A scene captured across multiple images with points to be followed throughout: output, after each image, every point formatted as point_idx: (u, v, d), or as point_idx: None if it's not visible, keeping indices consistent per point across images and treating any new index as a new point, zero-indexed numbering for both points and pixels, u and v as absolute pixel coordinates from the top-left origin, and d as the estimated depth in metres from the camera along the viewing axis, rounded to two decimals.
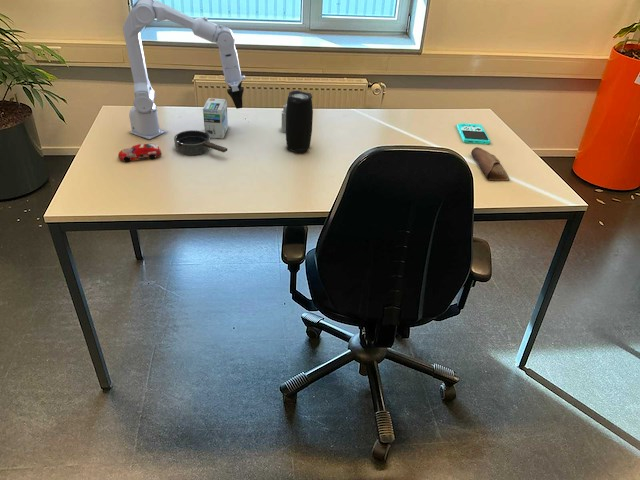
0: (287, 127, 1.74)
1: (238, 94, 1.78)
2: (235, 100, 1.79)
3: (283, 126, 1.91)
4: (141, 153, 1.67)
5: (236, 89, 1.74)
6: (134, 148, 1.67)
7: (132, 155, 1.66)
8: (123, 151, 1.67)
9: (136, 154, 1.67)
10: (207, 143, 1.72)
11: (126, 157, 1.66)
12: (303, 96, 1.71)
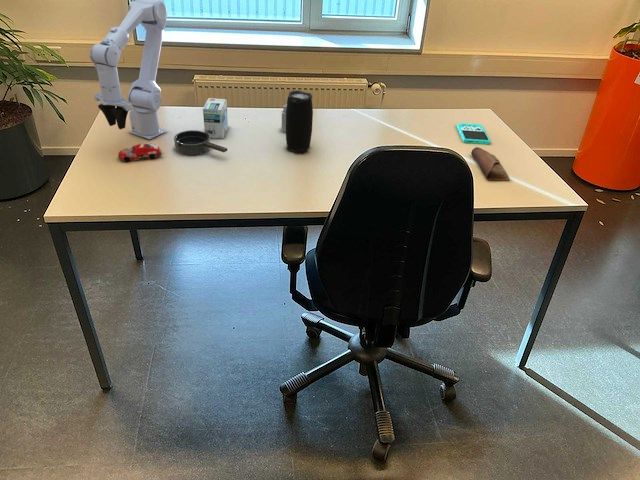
0: (287, 127, 1.74)
1: None
2: None
3: (283, 126, 1.91)
4: (141, 153, 1.67)
5: None
6: (134, 148, 1.67)
7: (132, 155, 1.66)
8: (123, 151, 1.67)
9: (136, 154, 1.67)
10: (207, 143, 1.72)
11: (126, 157, 1.66)
12: (303, 96, 1.71)
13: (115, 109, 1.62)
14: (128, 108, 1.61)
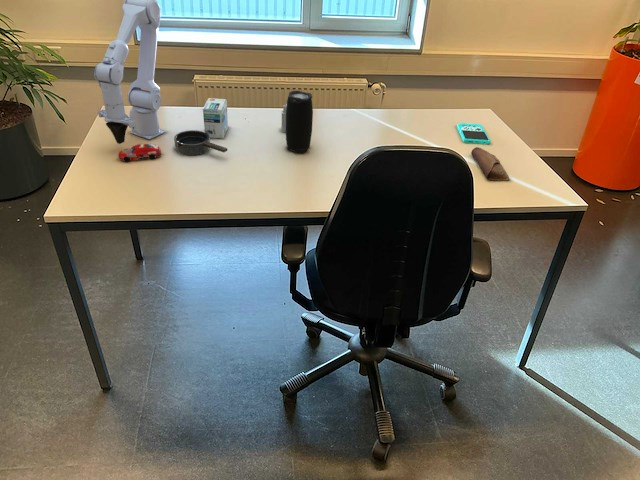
0: (287, 127, 1.74)
1: None
2: None
3: (283, 126, 1.91)
4: (141, 153, 1.67)
5: None
6: (134, 148, 1.67)
7: (132, 155, 1.66)
8: (123, 151, 1.67)
9: (136, 154, 1.67)
10: (207, 143, 1.72)
11: (126, 157, 1.66)
12: (303, 96, 1.71)
13: (114, 124, 1.65)
14: (131, 125, 1.64)
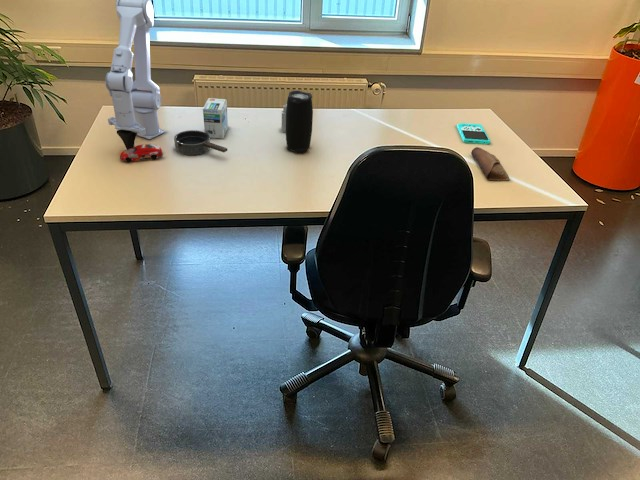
0: (287, 127, 1.74)
1: None
2: None
3: (283, 126, 1.91)
4: (143, 153, 1.67)
5: None
6: (135, 148, 1.67)
7: (134, 155, 1.66)
8: (125, 152, 1.67)
9: (138, 154, 1.66)
10: (207, 143, 1.72)
11: (128, 158, 1.66)
12: (303, 96, 1.71)
13: (124, 132, 1.65)
14: (142, 133, 1.63)
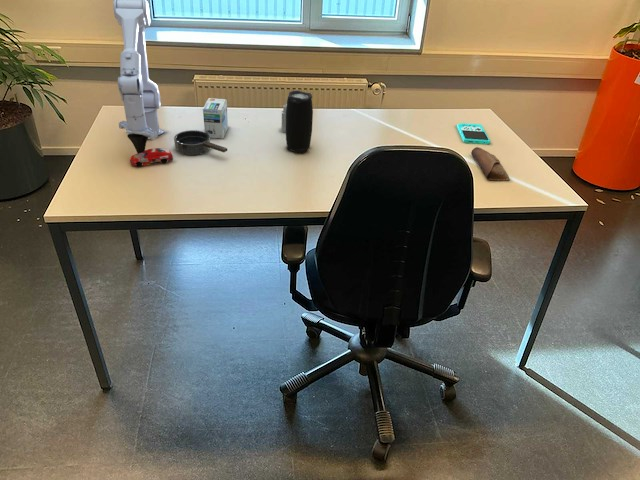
0: (287, 127, 1.74)
1: None
2: None
3: (283, 126, 1.91)
4: (153, 157, 1.65)
5: None
6: (146, 152, 1.65)
7: (144, 160, 1.64)
8: (135, 156, 1.65)
9: (148, 159, 1.64)
10: (207, 143, 1.72)
11: (138, 162, 1.64)
12: (303, 96, 1.71)
13: (135, 136, 1.63)
14: (153, 137, 1.61)
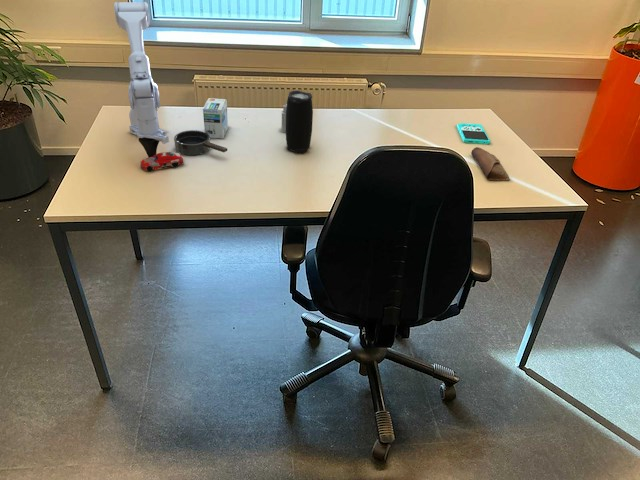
0: (287, 127, 1.74)
1: None
2: None
3: (283, 126, 1.91)
4: (164, 161, 1.63)
5: None
6: (156, 157, 1.63)
7: (155, 164, 1.62)
8: (145, 160, 1.63)
9: (159, 163, 1.63)
10: (207, 143, 1.72)
11: (149, 166, 1.62)
12: (303, 96, 1.71)
13: (147, 140, 1.61)
14: (165, 141, 1.59)
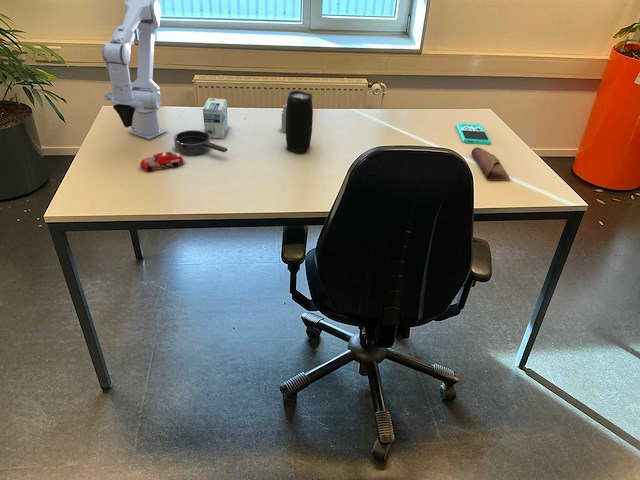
0: (287, 127, 1.74)
1: None
2: None
3: (283, 126, 1.91)
4: (164, 161, 1.63)
5: None
6: (156, 156, 1.63)
7: (155, 164, 1.62)
8: (145, 160, 1.63)
9: (159, 163, 1.63)
10: (207, 143, 1.72)
11: (149, 166, 1.62)
12: (303, 96, 1.71)
13: (122, 107, 1.61)
14: (140, 107, 1.59)
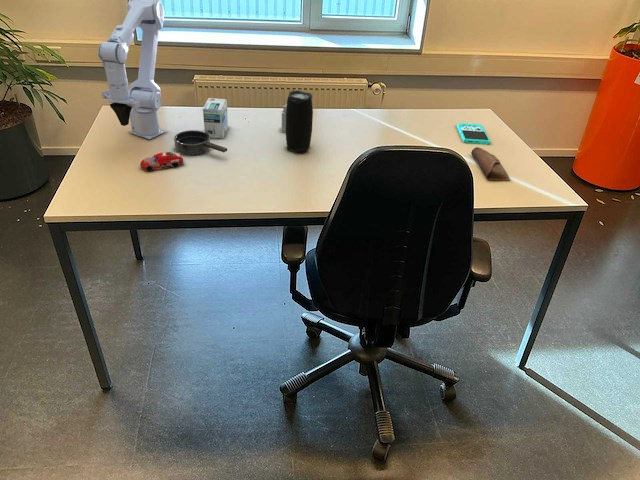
0: (287, 127, 1.74)
1: None
2: None
3: (283, 126, 1.91)
4: (164, 161, 1.63)
5: None
6: (156, 156, 1.63)
7: (155, 164, 1.62)
8: (145, 160, 1.63)
9: (159, 163, 1.63)
10: (207, 143, 1.72)
11: (149, 166, 1.62)
12: (303, 96, 1.71)
13: (119, 105, 1.62)
14: (136, 106, 1.60)
